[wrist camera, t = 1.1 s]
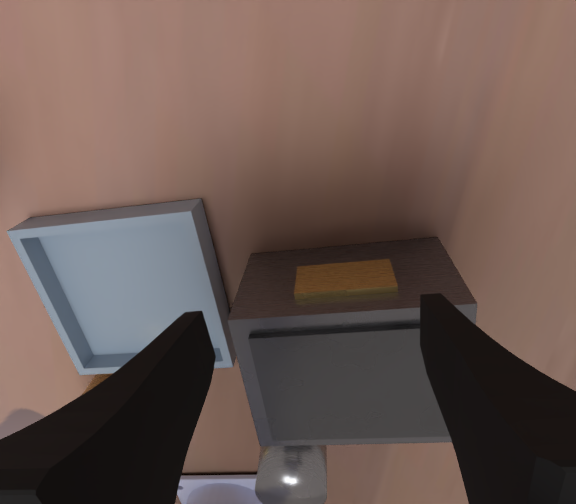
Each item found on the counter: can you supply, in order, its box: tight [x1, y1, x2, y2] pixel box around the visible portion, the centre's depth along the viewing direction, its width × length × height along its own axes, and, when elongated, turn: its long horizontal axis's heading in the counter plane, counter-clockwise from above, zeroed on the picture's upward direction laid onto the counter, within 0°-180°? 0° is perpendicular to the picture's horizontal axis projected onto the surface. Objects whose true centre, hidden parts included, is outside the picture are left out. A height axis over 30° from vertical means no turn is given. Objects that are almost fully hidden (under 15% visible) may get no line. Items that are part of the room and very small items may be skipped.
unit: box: [227, 237, 477, 446], centre depth 20 cm, size 9×10×6 cm
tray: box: [7, 199, 236, 375], centre depth 23 cm, size 10×10×2 cm
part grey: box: [255, 445, 327, 504], centre depth 25 cm, size 4×4×6 cm
